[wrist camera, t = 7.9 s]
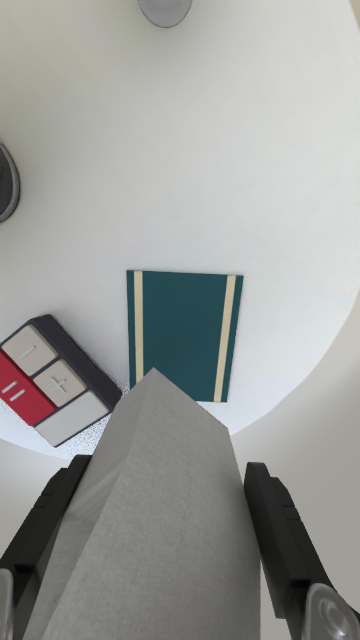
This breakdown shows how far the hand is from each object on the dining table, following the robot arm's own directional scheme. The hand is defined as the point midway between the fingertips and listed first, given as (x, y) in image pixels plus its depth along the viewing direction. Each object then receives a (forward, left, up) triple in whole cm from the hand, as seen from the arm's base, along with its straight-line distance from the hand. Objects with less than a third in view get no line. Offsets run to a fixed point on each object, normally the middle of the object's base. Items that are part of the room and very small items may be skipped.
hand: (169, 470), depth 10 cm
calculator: (-16, -6, -17) cm, 25 cm away
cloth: (+1, 0, -17) cm, 17 cm away
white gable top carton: (0, 0, -4) cm, 4 cm away
